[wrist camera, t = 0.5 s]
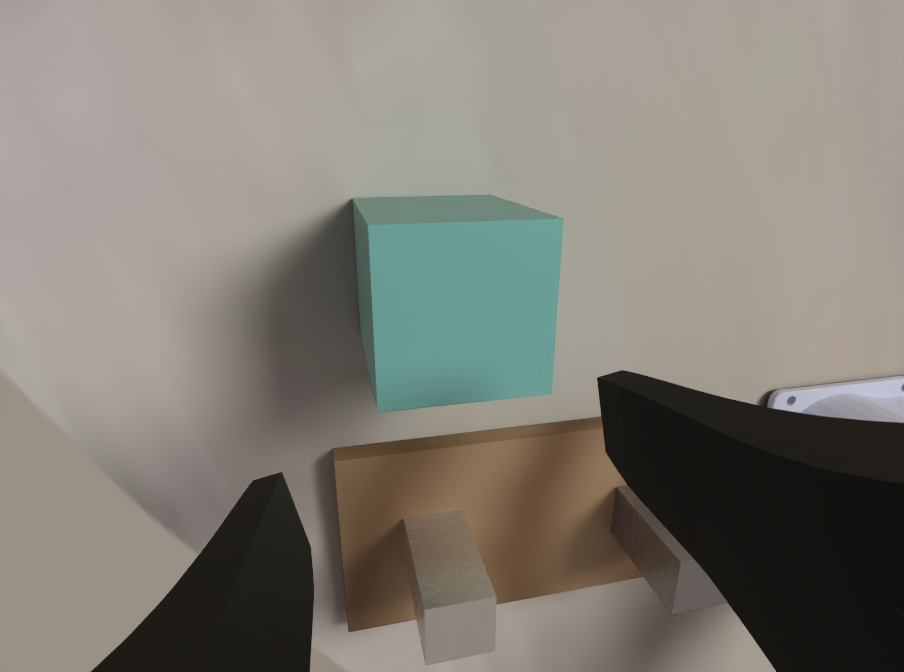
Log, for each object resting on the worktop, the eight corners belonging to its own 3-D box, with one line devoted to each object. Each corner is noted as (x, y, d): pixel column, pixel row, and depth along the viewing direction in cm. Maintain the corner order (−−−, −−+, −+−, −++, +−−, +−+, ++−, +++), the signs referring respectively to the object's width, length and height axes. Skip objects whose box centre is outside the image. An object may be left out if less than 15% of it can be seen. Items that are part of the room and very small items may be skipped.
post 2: (665, 479, 26) (739, 551, 22) (658, 523, 27) (728, 602, 22) (616, 486, 26) (681, 562, 21) (610, 532, 27) (671, 614, 22)
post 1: (462, 509, 24) (496, 596, 19) (461, 556, 25) (494, 651, 20) (403, 517, 24) (424, 610, 19) (405, 566, 24) (425, 665, 20)
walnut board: (712, 404, 27) (726, 413, 26) (684, 553, 30) (696, 566, 29) (333, 448, 23) (333, 461, 22) (347, 614, 26) (348, 632, 25)
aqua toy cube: (491, 195, 21) (563, 218, 15) (488, 325, 22) (551, 394, 16) (352, 198, 20) (368, 225, 14) (360, 334, 21) (377, 412, 15)
